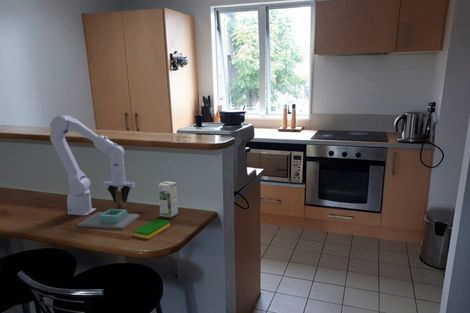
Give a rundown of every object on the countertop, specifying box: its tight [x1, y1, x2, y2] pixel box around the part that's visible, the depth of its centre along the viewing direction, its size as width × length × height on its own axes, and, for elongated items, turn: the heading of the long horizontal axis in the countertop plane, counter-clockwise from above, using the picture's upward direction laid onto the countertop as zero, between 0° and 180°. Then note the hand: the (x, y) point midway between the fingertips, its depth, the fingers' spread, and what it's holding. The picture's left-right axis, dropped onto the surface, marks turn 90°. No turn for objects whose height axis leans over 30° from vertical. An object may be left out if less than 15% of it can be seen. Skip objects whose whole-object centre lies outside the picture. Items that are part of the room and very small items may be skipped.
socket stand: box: [77, 208, 141, 230], centre depth 144 cm, size 20×14×4 cm
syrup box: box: [158, 180, 179, 218], centre depth 149 cm, size 6×6×14 cm
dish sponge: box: [133, 218, 171, 240], centre depth 134 cm, size 7×14×2 cm, turn 155°
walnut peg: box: [115, 189, 127, 210], centre depth 156 cm, size 4×4×8 cm
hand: (120, 201), depth 157 cm, fingers closed on walnut peg, 4 cm apart
